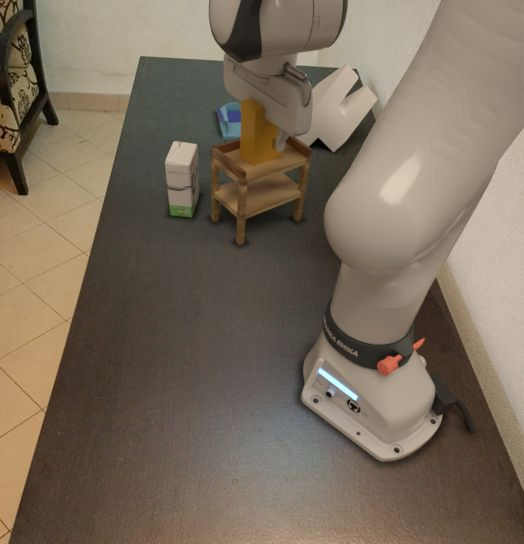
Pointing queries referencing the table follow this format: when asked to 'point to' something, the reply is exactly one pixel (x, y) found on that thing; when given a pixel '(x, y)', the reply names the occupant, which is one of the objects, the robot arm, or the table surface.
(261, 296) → the table surface
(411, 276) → the robot arm
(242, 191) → the rack
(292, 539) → the table surface
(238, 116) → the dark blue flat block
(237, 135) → the chair
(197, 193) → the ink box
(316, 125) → the slotted wedge
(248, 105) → the yellow block
